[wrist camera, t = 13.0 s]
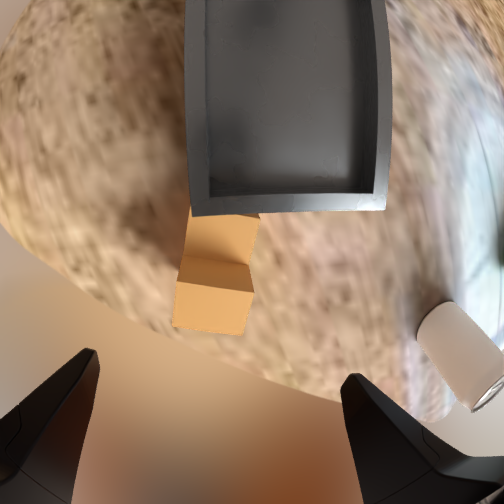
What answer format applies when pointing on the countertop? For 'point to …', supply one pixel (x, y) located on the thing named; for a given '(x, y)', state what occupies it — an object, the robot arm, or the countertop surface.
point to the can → (462, 355)
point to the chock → (216, 274)
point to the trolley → (287, 105)
